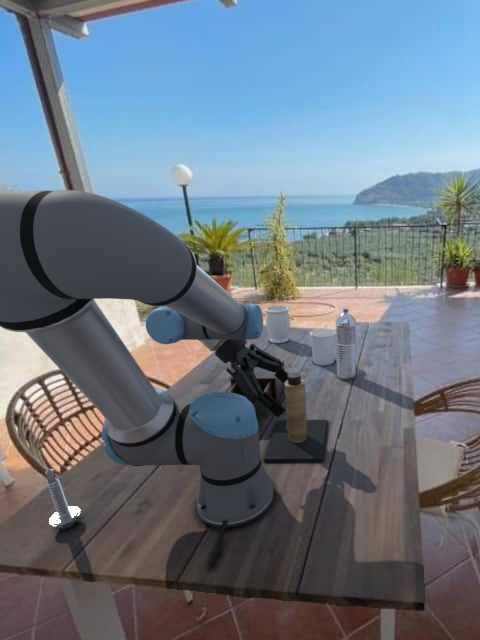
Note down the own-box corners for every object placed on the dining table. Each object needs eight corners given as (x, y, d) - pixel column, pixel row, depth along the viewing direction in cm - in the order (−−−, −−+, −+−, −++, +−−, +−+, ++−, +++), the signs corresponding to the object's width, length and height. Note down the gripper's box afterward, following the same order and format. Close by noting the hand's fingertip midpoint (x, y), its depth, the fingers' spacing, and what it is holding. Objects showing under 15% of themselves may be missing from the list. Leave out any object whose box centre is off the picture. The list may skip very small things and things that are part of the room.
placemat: (322, 461, 94) (322, 458, 94) (264, 461, 94) (263, 459, 93) (326, 421, 111) (326, 419, 110) (277, 422, 110) (277, 419, 110)
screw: (88, 514, 78) (73, 533, 73) (62, 515, 77) (46, 535, 73) (70, 460, 73) (53, 477, 69) (43, 461, 73) (24, 478, 68)
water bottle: (353, 381, 136) (353, 312, 127) (334, 379, 137) (333, 310, 128) (357, 373, 142) (357, 306, 133) (339, 371, 143) (338, 305, 134)
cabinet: (277, 403, 121) (275, 378, 118) (233, 403, 121) (230, 378, 117) (285, 381, 135) (283, 358, 132) (246, 381, 135) (243, 359, 132)
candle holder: (341, 360, 154) (340, 331, 150) (326, 368, 146) (325, 338, 142) (321, 355, 159) (320, 327, 154) (306, 362, 151) (304, 333, 147)
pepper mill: (306, 442, 100) (302, 379, 93) (287, 442, 100) (282, 379, 93) (308, 432, 104) (305, 370, 98) (289, 432, 104) (285, 370, 98)
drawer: (264, 427, 106) (262, 405, 104) (218, 427, 106) (215, 406, 103) (277, 395, 124) (275, 376, 121) (237, 396, 123) (235, 376, 121)
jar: (263, 343, 172) (260, 310, 166) (272, 336, 181) (269, 304, 176) (286, 345, 170) (284, 311, 164) (294, 337, 179) (292, 305, 174)
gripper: (235, 335, 106) (292, 386, 110) (190, 372, 83) (264, 436, 87) (251, 317, 104) (309, 370, 108) (210, 350, 81) (286, 416, 85)
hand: (289, 399), depth 98 cm, fingers open, 13 cm apart
